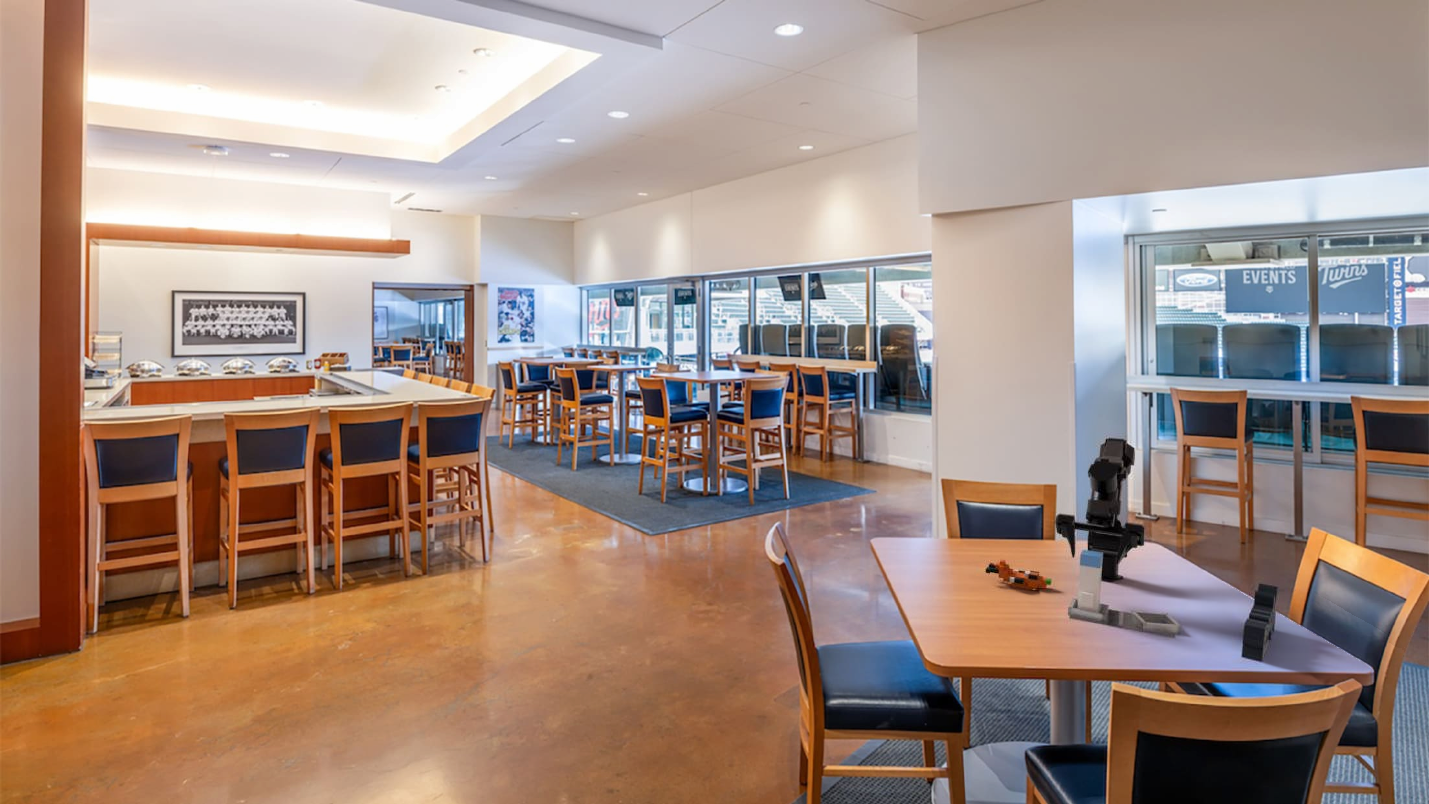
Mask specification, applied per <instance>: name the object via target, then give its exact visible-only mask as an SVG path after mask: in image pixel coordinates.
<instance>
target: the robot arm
mask: <svg viewBox="0 0 1429 804" xmlns="http://www.w3.org/2000/svg"><path fill="white" fill-rule="evenodd" d="M1104 441H1105V442H1104V443H1102V444H1100V448H1099V456H1098V457H1096V458H1095V459H1094V461H1093V463H1090V465H1089V468H1088V470H1087V477H1088V478H1089V481H1090V488H1091V494H1090V498H1089V499H1087V508H1086V513H1085V520H1086V522H1085V521H1078V520H1076V516H1075V515H1073V514H1066V513H1058V514H1057V515H1056V516H1055V521H1054V522H1055V523H1054V524H1055V529H1056V533H1057V534H1058V535H1061V536H1062V537H1063V538H1064V539H1066V540H1067V542H1068V544H1069V548H1070V553H1071V556H1072V557H1071V558H1073V559H1074V558H1075V556H1076V530H1078V531H1084V532H1087V550H1089V551H1095V552H1102V553H1103V562H1102V574H1101V581H1105V582H1112V581H1117V580H1122V579H1124V576H1123V575H1120V574H1119V565H1120V563H1121V562H1122V560H1124V558H1128V553H1129V552H1130V551H1131V550H1132V549H1136V548H1138V546H1139V547H1143V546H1145V541H1146V540H1145V539H1146V527H1145V526H1144V525H1143V524H1142V523H1134V522H1127V521H1126V522H1125V524H1124V527H1123V525H1122V523H1121V522H1122V521H1120V519H1119V516H1120V515H1121V509H1122V501H1121V499H1122V490H1123V482H1125V480H1126V479H1127V478H1128V476H1129V475H1131V472H1132V466H1135V462H1136V461H1135V459H1136V451H1135V447H1133V445H1131V444H1129V443H1128V442H1127V441H1128V440H1127V439H1125V438H1117V437H1116V438H1115V437H1108V438H1105V440H1104Z"/></svg>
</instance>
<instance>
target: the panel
mask: <svg viewBox="0 0 1429 804" xmlns="http://www.w3.org/2000/svg"><path fill="white" fill-rule="evenodd" d="M1075 608H1076V609H1078V607H1075ZM1099 613H1102V612H1101V611H1099ZM1069 619H1070V620H1076V621H1082V622H1087V623H1093V624H1097V625H1103V626H1109V627H1114V628H1120V629H1124V630H1130V631H1135V632H1140V633H1141V632H1142V633H1146V634H1150V635H1151V634H1152V635H1158V636H1161V637H1162V636H1163V637H1167V638H1173V639H1175V638H1176V634H1175V633H1166V632H1155V631H1143V630H1142V629H1141V628H1140V627H1139V626H1138V625H1137V624H1136V623H1135V622H1134V621H1133V620H1132V618H1131V612H1126V611H1121V610H1116V609H1110V608H1109V611H1108V615H1107V617H1106V620H1105V622H1101V621H1096V620H1091V619H1086V618H1081V617H1076V616H1071V615H1069ZM1144 621H1145V622H1148V623H1160V624H1167V623H1166V622H1165V621H1153V620H1144Z"/></svg>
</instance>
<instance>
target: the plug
mask: <svg viewBox="0 0 1429 804" xmlns="http://www.w3.org/2000/svg"><path fill="white" fill-rule="evenodd" d="M1079 559H1080V560H1079V576H1078V577H1079V578H1078V580H1079V581H1078V594H1077V599H1078V609H1081V610H1086V611H1091V612H1097V613H1099V606H1100V604H1101V603H1100V602H1101V587H1102V579H1101V574H1102V562H1103V553H1102V552H1095V551H1089V550H1088V549H1082V550H1081V553H1080V557H1079Z"/></svg>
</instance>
